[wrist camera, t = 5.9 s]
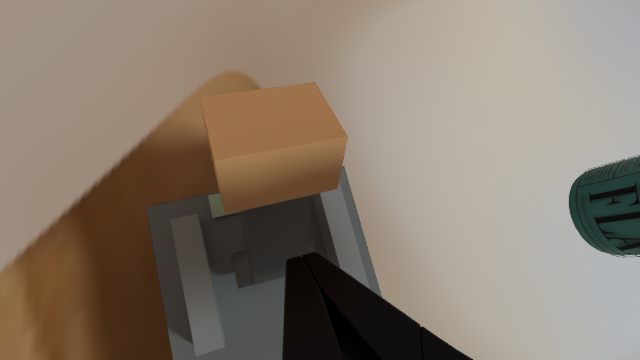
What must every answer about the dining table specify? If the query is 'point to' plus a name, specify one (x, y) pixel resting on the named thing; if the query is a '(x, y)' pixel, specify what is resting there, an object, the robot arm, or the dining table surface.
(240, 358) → the base
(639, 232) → the beverage bottle
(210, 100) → the lever
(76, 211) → the dining table surface
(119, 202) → the dining table surface
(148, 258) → the dining table surface
